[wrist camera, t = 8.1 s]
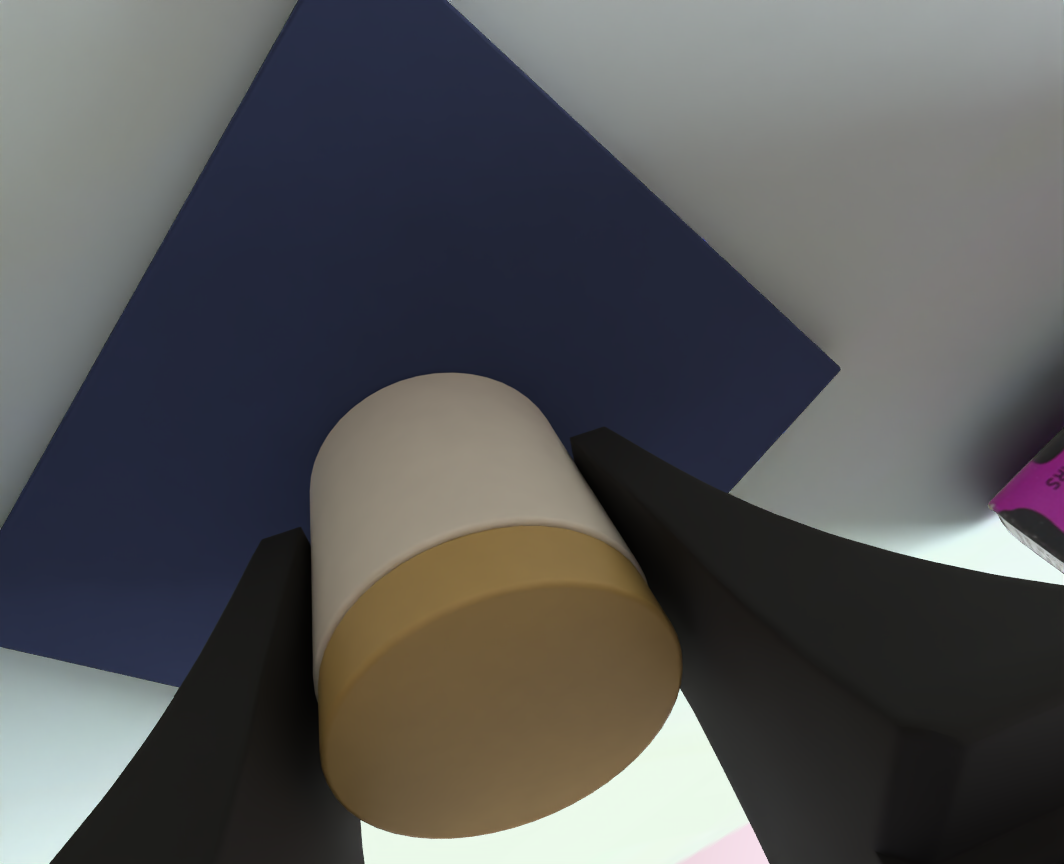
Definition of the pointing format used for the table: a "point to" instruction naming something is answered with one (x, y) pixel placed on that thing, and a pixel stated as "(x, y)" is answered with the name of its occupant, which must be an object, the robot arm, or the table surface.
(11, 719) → the table surface
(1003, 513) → the candy bar box
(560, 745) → the cream jar
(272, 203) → the napkin
